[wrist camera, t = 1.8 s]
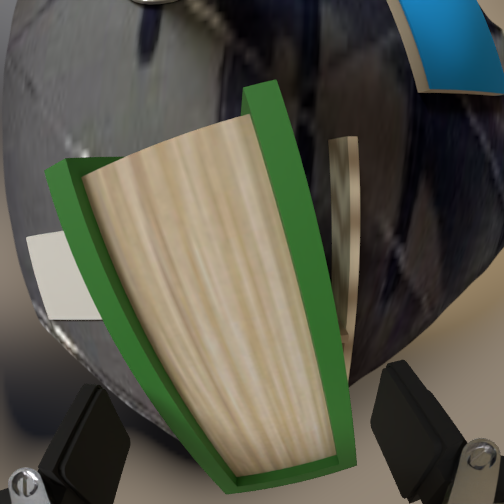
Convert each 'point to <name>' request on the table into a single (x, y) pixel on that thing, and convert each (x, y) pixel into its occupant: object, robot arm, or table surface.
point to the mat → (60, 279)
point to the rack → (345, 236)
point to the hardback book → (219, 293)
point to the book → (449, 46)
